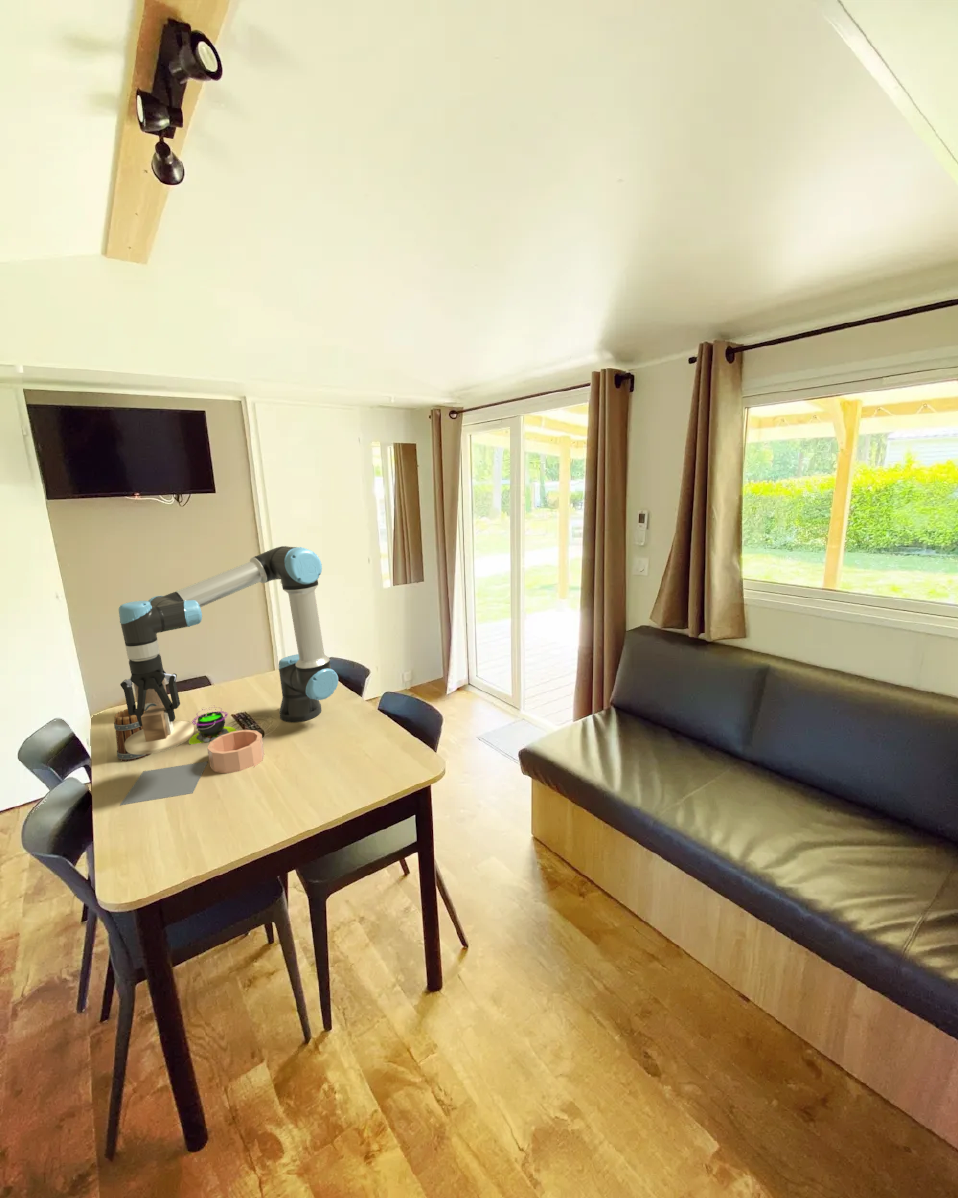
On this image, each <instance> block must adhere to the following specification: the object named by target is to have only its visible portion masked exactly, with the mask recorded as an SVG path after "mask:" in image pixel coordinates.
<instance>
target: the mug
mask: <svg viewBox="0 0 958 1198" xmlns="http://www.w3.org/2000/svg"><path fill="white" fill-rule="evenodd" d="M152 706H157V705H156V704H154V703H147V704H145V708H144V710H145V711H144V713H145V712H146V710H147V709H148V708H149V707H152ZM113 724H114V726H113V727H114V728H113V729H114V730H115V739H116V749H117V750H116V756H117V758H118V761H121V762H134V761H137V760H141V759H144V758H146V757H148V756H150V755H151V754H143V755H136V754H130V753H128V752H127V751H126V749H125V741H126V739H127V738H129V737H130V736H131V735H133V734H134V733H136V732H138V731H140V730H142V729H143V726H140V725H139V722H138V717H137V716H136V715H129V714H128V709H127V708H126V709H124V710H121V711H118V713H115V714H114V722H113Z"/></svg>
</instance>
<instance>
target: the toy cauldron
mask: <svg viewBox="0 0 958 1198" xmlns="http://www.w3.org/2000/svg"><path fill="white" fill-rule="evenodd" d="M211 706H212V707H214V708H215V710H216V711H211V712H206V713H203V714H200V715H199V714H198V713H199V712H197V713H196V717H195V718H193V719H192V721H191V722H190V723H192V724H193V726H196V730H197V731H198V732H197V733H196V734H195V733H194V734H193V736H192V737H191V738H190V739H188V744H189V746H190V745H195V744H203V743H210V742H211V741H213V740H214V739H216V738H217V737H219V736H221V735H224V734H227V733H230V732H233V731H237V729H236V728H235V727H233V726H225V725H226V719H227V718H228V712H226V711H223V708H221V707H217V706H214V705H213V704H212V705H211ZM216 708H218V709H220V711H218V710H217V709H216ZM209 710H211V708H207V711H209ZM201 711H206V708H205V709H204V708H201Z"/></svg>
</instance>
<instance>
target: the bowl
mask: <svg viewBox="0 0 958 1198" xmlns="http://www.w3.org/2000/svg"><path fill="white" fill-rule="evenodd" d="M207 754H208V763H209V767H210V769H211V770H212V771H213V772H215V773H220V774H229V773H230V774H231V773H236V772H241V771H244V770H246V769H248V768H251V767H253V768H255V767H257V765H259V764H260V763H262V762H263V761H264V757H265V748H264V743H263V734H262V733H261V732H259V731H257V730H252V729H243V730H242V729H241V730H236V731H233V732H230V733H227V734H224V735H221V736H219V737H217V738H216V739H214V740H213V741H211V742H209V744H208V746H207Z"/></svg>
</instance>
